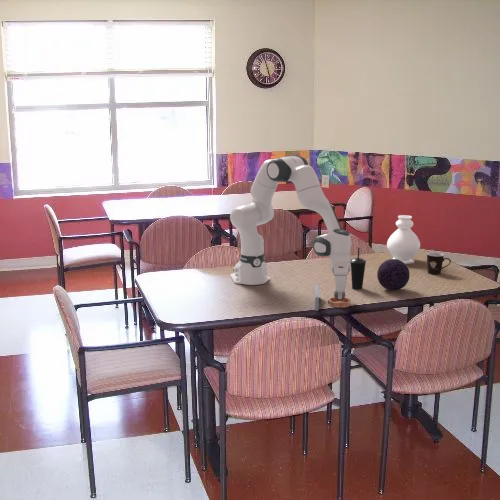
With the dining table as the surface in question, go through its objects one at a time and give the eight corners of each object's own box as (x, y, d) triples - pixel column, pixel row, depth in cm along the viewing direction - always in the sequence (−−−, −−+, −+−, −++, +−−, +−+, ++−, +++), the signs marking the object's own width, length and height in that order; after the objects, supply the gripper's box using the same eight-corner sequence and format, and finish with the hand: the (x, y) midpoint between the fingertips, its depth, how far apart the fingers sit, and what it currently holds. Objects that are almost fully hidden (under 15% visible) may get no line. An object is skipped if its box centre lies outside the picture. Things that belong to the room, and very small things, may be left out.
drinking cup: (357, 291, 332) (358, 250, 327) (345, 287, 338) (347, 247, 333) (368, 288, 336) (370, 247, 331) (357, 285, 342) (358, 245, 337)
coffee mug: (422, 272, 364) (423, 253, 361) (432, 270, 369) (434, 251, 366) (440, 277, 355) (441, 258, 352) (451, 274, 360) (452, 255, 357)
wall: (315, 296, 323) (315, 284, 322) (318, 296, 323) (318, 284, 322) (314, 310, 304) (315, 297, 303) (318, 310, 304) (318, 297, 303)
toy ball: (371, 286, 339) (372, 256, 335) (399, 284, 343) (401, 254, 339) (385, 295, 325) (386, 264, 321) (414, 293, 329) (416, 262, 325)
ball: (331, 299, 314) (332, 288, 312) (341, 297, 315) (341, 287, 314) (337, 302, 309) (337, 291, 308) (347, 300, 311) (347, 290, 310)
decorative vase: (382, 257, 396) (384, 213, 390) (414, 256, 397) (416, 213, 391) (390, 265, 378) (393, 219, 373) (423, 264, 379) (426, 219, 374)
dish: (324, 302, 315) (324, 298, 315) (343, 299, 319) (343, 295, 319) (334, 308, 306) (334, 304, 306) (354, 306, 310) (354, 301, 310)
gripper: (332, 260, 319) (332, 289, 322) (333, 272, 299) (332, 303, 302) (346, 260, 318) (345, 289, 322) (348, 272, 299) (347, 303, 302)
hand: (339, 296), depth 312 cm, fingers closed on ball, 5 cm apart
